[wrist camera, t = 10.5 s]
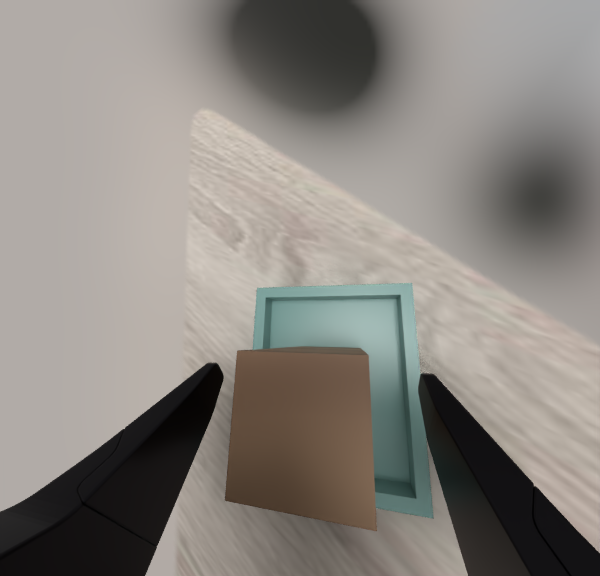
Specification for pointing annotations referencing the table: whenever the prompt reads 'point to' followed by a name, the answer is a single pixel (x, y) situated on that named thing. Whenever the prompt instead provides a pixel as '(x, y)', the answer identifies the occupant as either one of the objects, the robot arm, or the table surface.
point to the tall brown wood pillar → (303, 434)
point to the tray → (382, 366)
